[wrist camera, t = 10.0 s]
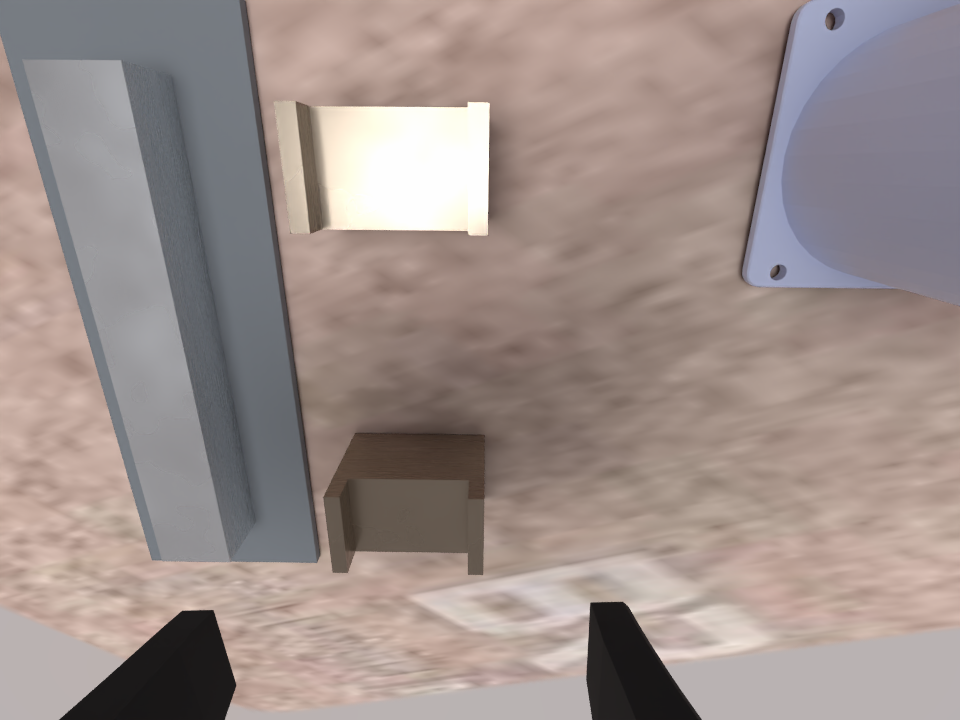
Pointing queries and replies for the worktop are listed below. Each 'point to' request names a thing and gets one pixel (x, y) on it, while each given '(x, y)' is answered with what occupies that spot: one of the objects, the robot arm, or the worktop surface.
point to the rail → (149, 294)
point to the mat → (224, 224)
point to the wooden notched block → (385, 167)
